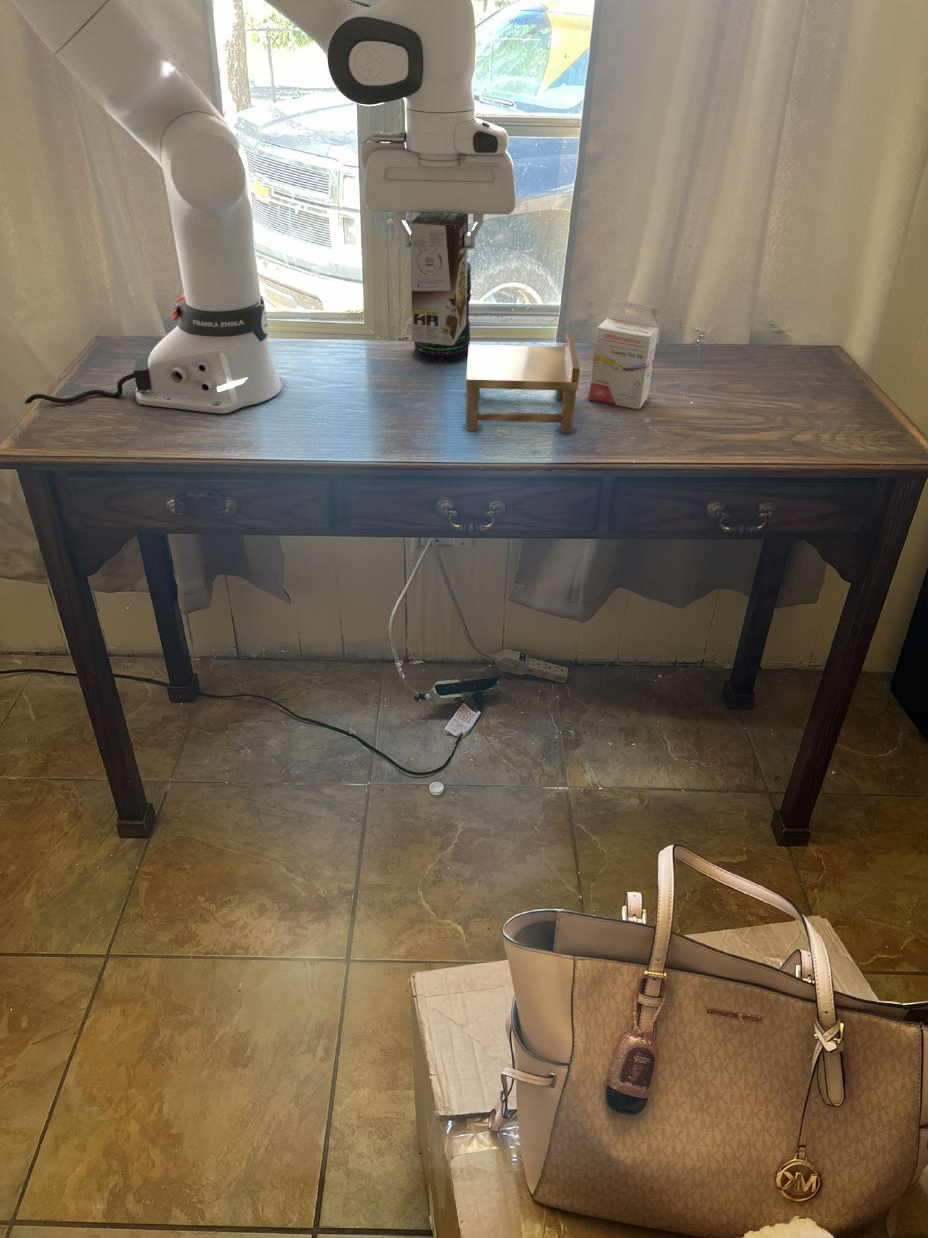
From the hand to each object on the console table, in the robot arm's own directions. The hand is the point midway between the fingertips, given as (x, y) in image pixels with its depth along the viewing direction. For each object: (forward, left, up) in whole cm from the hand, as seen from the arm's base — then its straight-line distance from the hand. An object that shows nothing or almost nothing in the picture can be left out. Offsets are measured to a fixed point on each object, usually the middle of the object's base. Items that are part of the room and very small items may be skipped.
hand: (440, 246), depth 122 cm
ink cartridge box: (+28, +6, -24) cm, 38 cm away
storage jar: (-1, +24, -24) cm, 34 cm away
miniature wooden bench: (+12, 0, -24) cm, 27 cm away
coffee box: (0, 0, -12) cm, 12 cm away
